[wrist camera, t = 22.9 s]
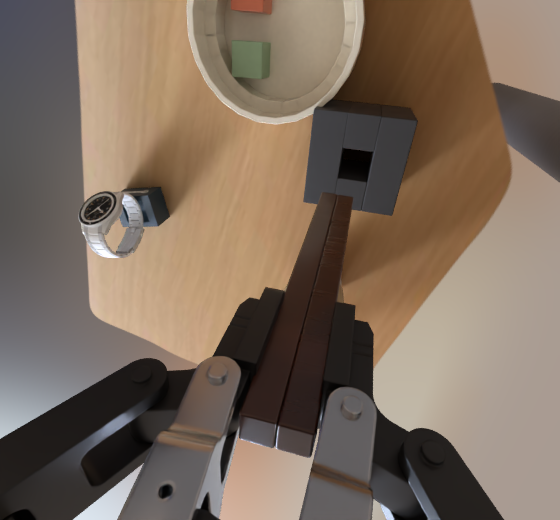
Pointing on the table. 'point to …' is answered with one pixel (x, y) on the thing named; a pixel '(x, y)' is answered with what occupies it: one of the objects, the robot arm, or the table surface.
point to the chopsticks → (300, 339)
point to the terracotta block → (252, 6)
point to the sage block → (250, 59)
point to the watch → (121, 217)
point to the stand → (361, 136)
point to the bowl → (278, 53)
